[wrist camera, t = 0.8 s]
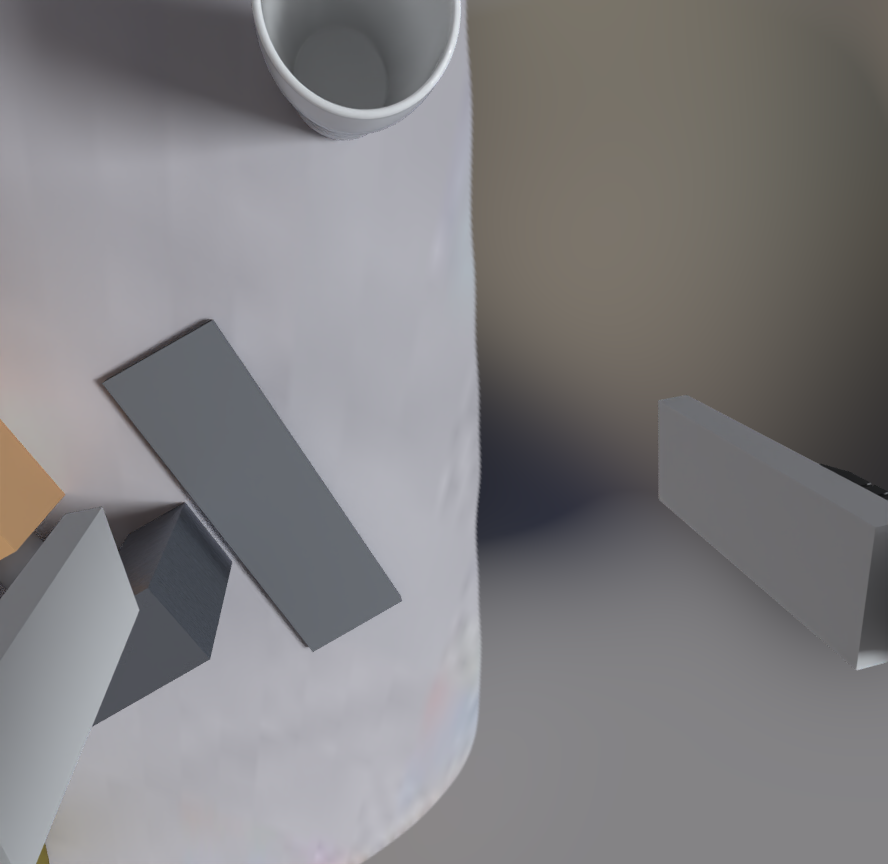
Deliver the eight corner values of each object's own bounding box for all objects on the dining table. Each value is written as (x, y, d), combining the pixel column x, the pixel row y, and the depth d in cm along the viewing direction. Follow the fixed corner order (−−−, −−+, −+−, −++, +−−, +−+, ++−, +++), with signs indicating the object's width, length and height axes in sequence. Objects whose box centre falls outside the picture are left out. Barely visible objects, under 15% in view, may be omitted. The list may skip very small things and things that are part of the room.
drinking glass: (422, 128, 36) (493, 76, 22) (308, 175, 35) (306, 153, 21) (373, -9, 33) (417, -167, 19) (250, 41, 33) (204, -83, 19)
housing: (-35, 627, 40) (-137, 750, 31) (185, 502, 40) (147, 588, 31) (22, 681, 42) (-59, 812, 33) (232, 562, 42) (209, 659, 33)
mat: (105, 380, 37) (102, 383, 36) (212, 319, 37) (211, 321, 36) (312, 646, 45) (313, 651, 44) (400, 596, 45) (401, 601, 44)
